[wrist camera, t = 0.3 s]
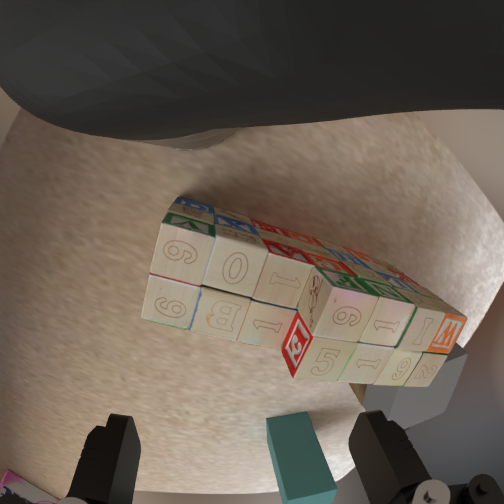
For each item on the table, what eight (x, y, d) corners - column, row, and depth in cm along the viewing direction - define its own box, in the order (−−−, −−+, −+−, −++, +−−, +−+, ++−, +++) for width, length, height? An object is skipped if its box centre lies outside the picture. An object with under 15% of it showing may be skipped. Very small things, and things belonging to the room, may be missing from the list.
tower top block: (374, 345, 26) (401, 377, 21) (439, 327, 27) (468, 353, 22) (362, 404, 29) (381, 437, 24) (422, 385, 29) (444, 412, 25)
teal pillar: (266, 418, 33) (287, 500, 22) (306, 411, 34) (337, 488, 23) (267, 441, 35) (286, 516, 24) (304, 434, 36) (330, 506, 24)
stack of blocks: (158, 264, 26) (127, 347, 15) (177, 194, 25) (150, 231, 13) (366, 316, 31) (429, 389, 19) (390, 262, 29) (471, 319, 18)
